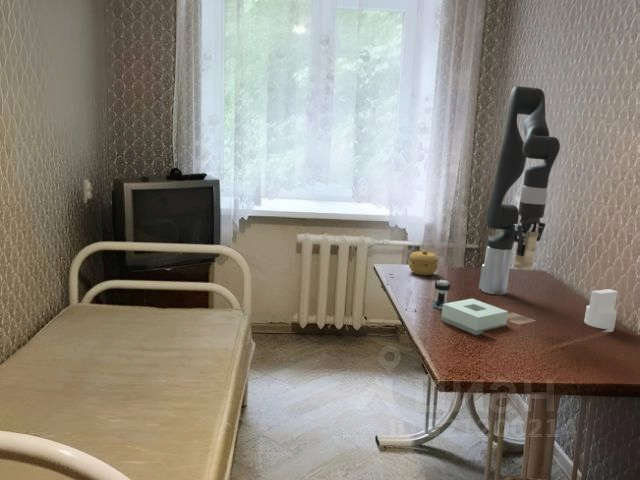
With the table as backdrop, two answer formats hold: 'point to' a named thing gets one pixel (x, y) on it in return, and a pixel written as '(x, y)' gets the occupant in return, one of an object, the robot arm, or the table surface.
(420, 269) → the pot
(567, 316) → the table surface
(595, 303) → the cylinder with rectangular tab
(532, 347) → the table surface
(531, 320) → the coaster
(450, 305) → the socket block
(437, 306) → the push button
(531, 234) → the pin
